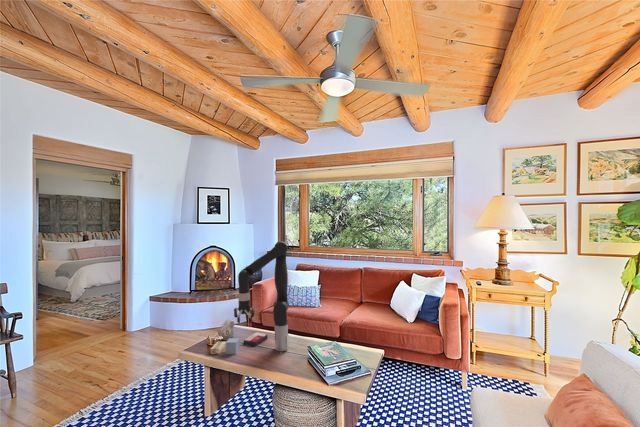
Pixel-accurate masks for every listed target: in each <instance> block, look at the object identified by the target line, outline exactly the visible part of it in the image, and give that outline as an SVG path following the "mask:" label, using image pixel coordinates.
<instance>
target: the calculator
mask: <svg viewBox="0 0 640 427" xmlns="http://www.w3.org/2000/svg"><path fill="white" fill-rule="evenodd" d="M267 340H268V334H267V333H262V332H254V333H252V334H251V335H250V336H248V337H246V338H245V339H243V345H247V346H252V347H257V346H259V345H261V344H262V343H263V342H265V341H267Z"/></svg>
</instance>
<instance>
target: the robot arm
mask: <svg viewBox="0 0 640 427" xmlns="http://www.w3.org/2000/svg"><path fill="white" fill-rule="evenodd" d="M287 252H288V245H287V243H286V242H285V241H283V240H279V241H277V242H276V243H275V244H274V246H273V247H272V248H271V249H270V250H269V251H268V252H267V253H265V254H263V255H261V256H260V257H259V258H257V259H255V260H254V261H252V262H251V263H250V264H249V265H248V266H246V267H244V268H243V269H241V271H239V273H238V276H237V280H238V299H237V300H238V307H235V308H233V312H234V314H233V316H234V318H236V319H237V324H238V325H239V324H240V323H241V315H247V317H248V324H251V323H252V322H253V321H252V320H253V318H254V317H255V311H256V310H255V307H254V306H253V307H251V301H250V300H251V295H250V285H249V282H250V281H249V279H250V277H251V276H252V275H254V274H256V273H257V272H259V271H260V270H262V269H263V268H265V266H267V265H268V264H269V263H271V262H272V261H274V260H275V265H274V285H275V290H276V302H275V304H274V306H273V308H272V309H273V310H272V311H273V321H274V350H275V351H276V352H284V351H288V349H289V343H290V342H289V340H290V339H289V333H288V332H289V331H288V330H289V325H288V324H289V323H288V321H289V320H288V319H287V318H288V317H287V314H288V313H287V312H288V309H289V300H288V284H289V282H288V280H289V279H288V278H289V277H288V267H287ZM238 312H239V313H238Z"/></svg>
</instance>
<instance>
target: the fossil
mask: <svg viewBox="0 0 640 427" xmlns="http://www.w3.org/2000/svg"><path fill="white" fill-rule="evenodd" d="M217 334H218V335H219V336H222V337H223V339H224V340H223V341H227V340H228V339H229V338H233V336H234V335H235V320H234V319H227V320H225V322H224V323H222V325H221V327H220V328H219V330H218V331H217ZM218 335H217V336H218Z"/></svg>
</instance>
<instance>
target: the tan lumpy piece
mask: <svg viewBox="0 0 640 427" xmlns="http://www.w3.org/2000/svg"><path fill="white" fill-rule="evenodd" d="M226 342H227V341H216V343H214V345H212V347H210V354H211V355H220V354H221V353H222V352H223V350H224V349H226Z"/></svg>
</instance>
